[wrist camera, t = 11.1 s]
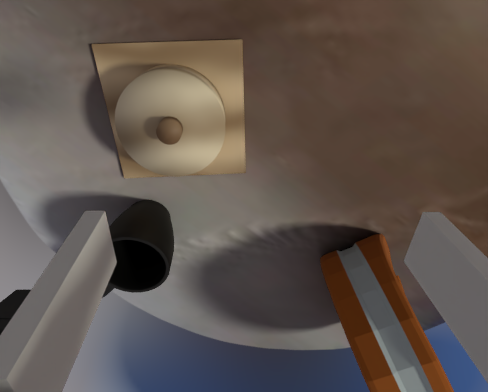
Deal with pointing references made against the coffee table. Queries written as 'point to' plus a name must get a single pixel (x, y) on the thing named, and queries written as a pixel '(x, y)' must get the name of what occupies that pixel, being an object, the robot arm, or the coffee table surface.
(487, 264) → the robot arm
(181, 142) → the lid
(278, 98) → the coffee table surface
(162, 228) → the mug
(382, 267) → the alarm clock
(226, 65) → the mat
